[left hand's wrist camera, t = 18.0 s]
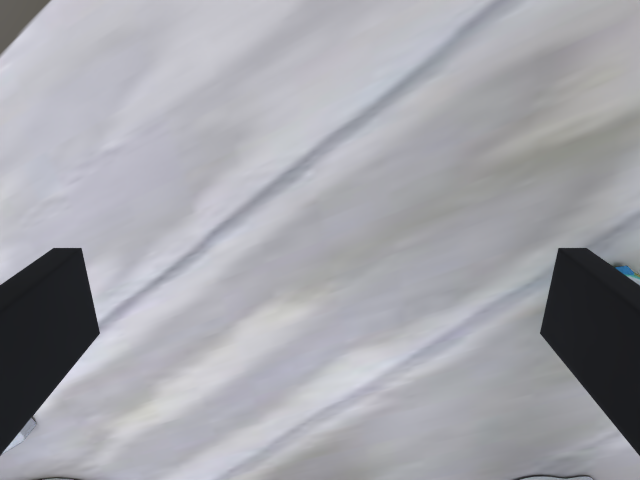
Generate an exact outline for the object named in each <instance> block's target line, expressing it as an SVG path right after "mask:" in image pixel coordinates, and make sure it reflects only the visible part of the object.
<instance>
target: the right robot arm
mask: <svg viewBox="0 0 640 480" xmlns="http://www.w3.org/2000/svg"><path fill="white" fill-rule="evenodd" d="M521 480H593V479H592V478H591V477H587V476H583V477H575V478H568V479H563V478H555V477H545V476H540V477H530V478H525V479H521Z"/></svg>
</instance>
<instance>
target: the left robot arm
mask: <svg viewBox="0 0 640 480" xmlns="http://www.w3.org/2000/svg"><path fill="white" fill-rule="evenodd" d="M99 334H100V332H99V327H98V322H97V318H96V313H95V308H94V304H93V299H92V295H91V290H90V285H89V281H88V276H87V271H86V267H85V262H84V258H83V253H82V248H53V249H52V250H50V251H49V252H47V253H46V254H44V255H43V256H42V257H40V258H39V259H37V260H36V261H34V262H33V263H32V264H30V265H29V266H27V267H26V268H24V269H23V270H21V271H20V272H19V273H17V274H16V275H14V276H13V277H11V278H10V279H9V280H7V281H6V282H4V283H3V284H1V285H0V456H1V454H2V453H3V452H4V451H5V449H6V448H7V447H8V446H9V445H10V443H11V442H12V441H13V440H14V438H15V437H16V436H17V435H18V433H19V432H20V431H21V430H22V429H23V427H24V426H25V425H26V424H27V422H28V421H29V420H30V419H31V417H32V416H33V415H34V414H35V413H36V411H37V410H38V409H39V408H40V406H41V405H42V404H43V403H44V401H45V400H46V399H47V398H48V397H49V395H50V394H51V393H52V392H53V390H54V389H55V388H56V387H57V386H58V384H59V383H60V382H61V381H62V379H63V378H64V377H65V376H66V374H67V373H68V372H69V371H70V370H71V368H72V367H73V366H74V365H75V363H76V362H77V361H78V360H79V358H80V357H81V356H82V355H83V354H84V352H85V351H86V350H87V349H88V347H89V346H90V345H91V344H92V342H93V341H94V340H95V339H96V338H97V336H98V335H99ZM540 334H541V335H542V336H543V338H544V339H545V340H546V341H547V342H548V344H549V345H550V346H551V347H552V349H553V350H554V351H555V352H556V354H557V355H558V356H559V357H560V358H561V360H562V361H563V362H564V363H565V365H566V366H567V367H568V368H569V370H570V371H571V372H572V373H573V374H574V376H575V377H576V378H577V379H578V381H579V382H580V383H581V384H582V386H583V387H584V388H585V389H586V390H587V392H588V393H589V394H590V395H591V397H592V398H593V399H594V400H595V401H596V403H597V404H598V405H599V406H600V408H601V409H602V410H603V411H604V413H605V414H606V415H607V416H608V417H609V419H610V420H611V421H612V422H613V424H614V425H615V426H616V427H617V429H618V430H619V431H620V432H621V433H622V435H623V436H624V437H625V438H626V440H627V441H628V442H629V443H630V445H631V446H632V447H633V448H634V449H635V451H636V452H637V453H638V454H639V456H640V285H639V284H637V283H636V282H634V281H633V280H631V279H630V278H629V277H627V276H626V275H624V274H623V273H621V272H620V271H618V270H617V269H616V268H614V267H613V266H611V265H610V264H608V263H607V262H606V261H604V260H603V259H601V258H600V257H598V256H597V255H596V254H594V253H593V252H591V251H590V250H588V249H587V248H558V253H557V258H556V262H555V267H554V271H553V276H552V281H551V285H550V290H549V295H548V299H547V304H546V308H545V313H544V318H543V322H542V327H541V332H540Z"/></svg>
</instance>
